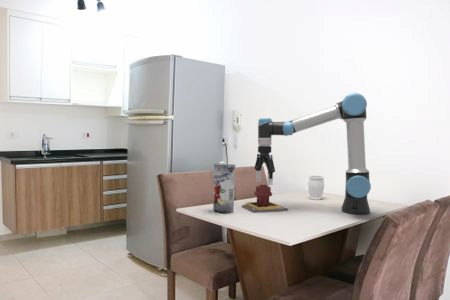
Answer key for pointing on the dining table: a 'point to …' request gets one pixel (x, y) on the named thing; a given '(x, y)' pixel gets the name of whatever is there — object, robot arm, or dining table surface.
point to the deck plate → (270, 208)
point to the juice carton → (224, 187)
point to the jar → (316, 187)
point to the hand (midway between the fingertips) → (264, 183)
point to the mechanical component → (263, 195)
